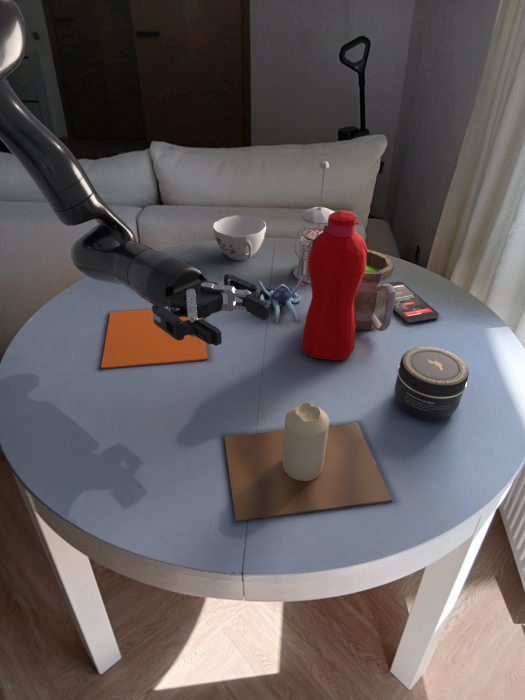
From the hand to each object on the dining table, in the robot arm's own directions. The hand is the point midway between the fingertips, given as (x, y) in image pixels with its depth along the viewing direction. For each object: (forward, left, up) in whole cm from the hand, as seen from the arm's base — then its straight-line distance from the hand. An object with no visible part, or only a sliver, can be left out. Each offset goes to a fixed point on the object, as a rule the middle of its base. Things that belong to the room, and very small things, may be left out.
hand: (244, 325), depth 62 cm
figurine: (+12, +33, -18) cm, 40 cm away
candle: (+7, -9, -18) cm, 21 cm away
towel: (-13, +26, -18) cm, 34 cm away
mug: (+27, +25, -18) cm, 41 cm away
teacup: (+7, +57, -18) cm, 60 cm away
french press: (+22, +46, -18) cm, 54 cm away
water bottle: (+17, +18, -18) cm, 31 cm away
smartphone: (+38, +31, -18) cm, 52 cm away
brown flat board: (+7, -9, -18) cm, 21 cm away
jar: (+29, +1, -18) cm, 34 cm away
